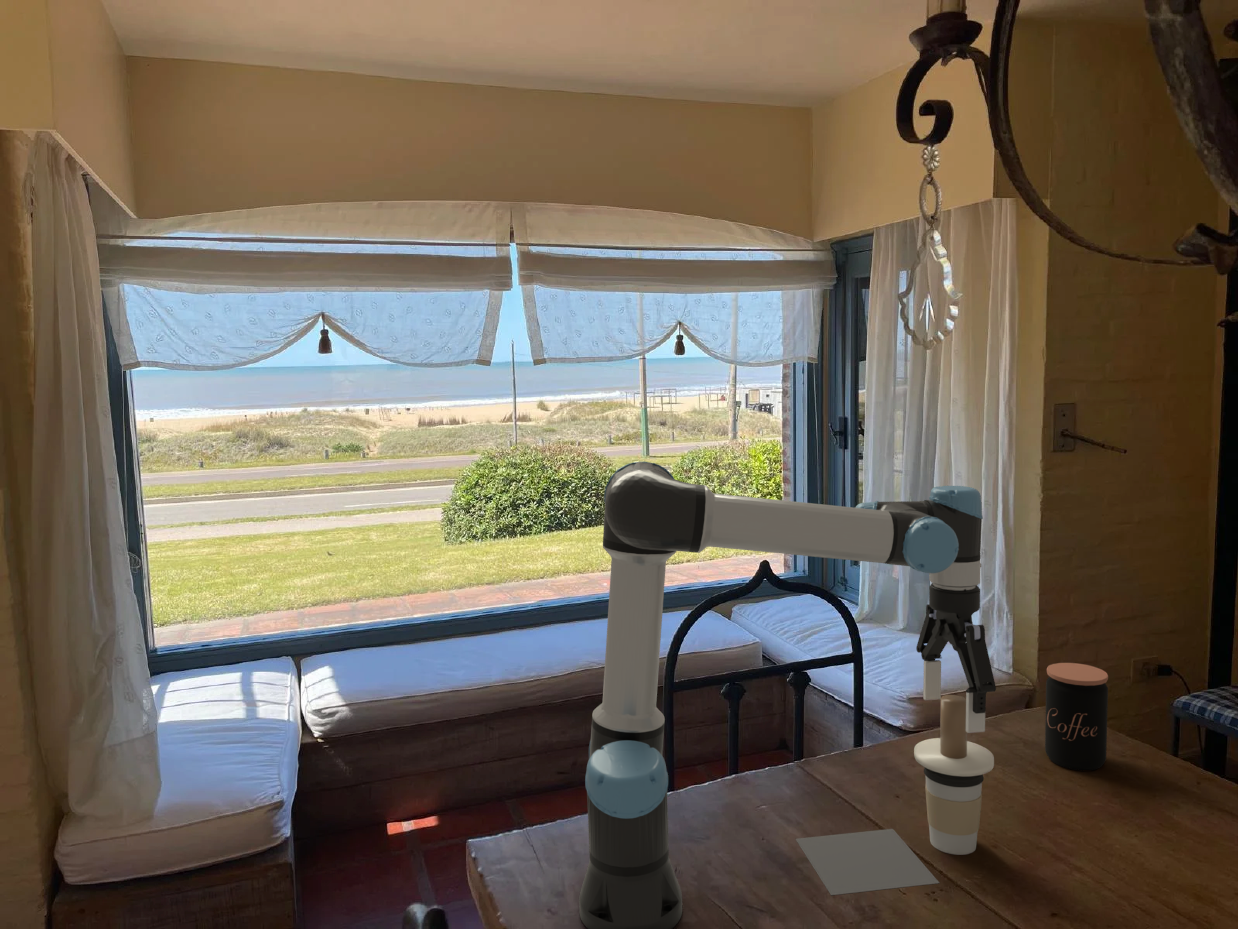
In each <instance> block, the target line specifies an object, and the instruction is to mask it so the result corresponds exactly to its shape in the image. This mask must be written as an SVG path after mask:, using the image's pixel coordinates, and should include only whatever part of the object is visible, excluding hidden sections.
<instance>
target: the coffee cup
mask: <svg viewBox="0 0 1238 929" xmlns="http://www.w3.org/2000/svg"><path fill="white" fill-rule="evenodd" d="M923 773H924V774H923V775H925V776H924V777H925V785H924V787H925V801H926V812H927V814H926V815H927V822H928V828H929V841H930V845H932V846H933V847H934V848H935V849H937V850H938V851H939V852H940V851H941V852H943V853H946V854H949V855H957V856H959V855H961V856H962V855H963V856H964V855H969V854H972V853H974V852H975V851H976V849H977V843H978V842H977V840H978V831H979V829H980V822H981V821H980V819H981V812H982V810H981V809H982V801H983V800H982V797H983V791H982V789H983V788H982V786H983V782H984V779H985V778H984V774H982V775H978V776H952V775H946V774H942V773H938V772H935V771H932V770H930V769H927V768H925V767H924V766H923Z"/></svg>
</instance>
